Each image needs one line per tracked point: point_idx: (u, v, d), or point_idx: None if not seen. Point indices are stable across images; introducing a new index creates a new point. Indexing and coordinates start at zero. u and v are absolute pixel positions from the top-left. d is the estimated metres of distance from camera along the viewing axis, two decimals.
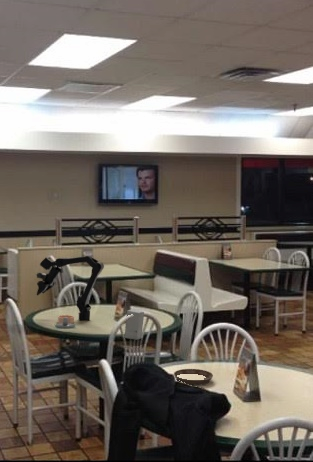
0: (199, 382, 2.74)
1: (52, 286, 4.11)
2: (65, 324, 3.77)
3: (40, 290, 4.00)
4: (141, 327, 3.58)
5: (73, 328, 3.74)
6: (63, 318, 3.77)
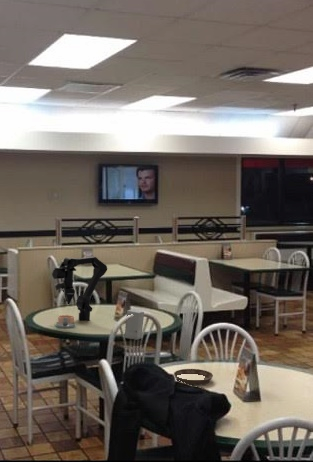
0: (199, 382, 2.74)
1: None
2: (65, 324, 3.77)
3: (69, 297, 3.86)
4: (141, 327, 3.58)
5: (73, 328, 3.74)
6: (63, 318, 3.77)
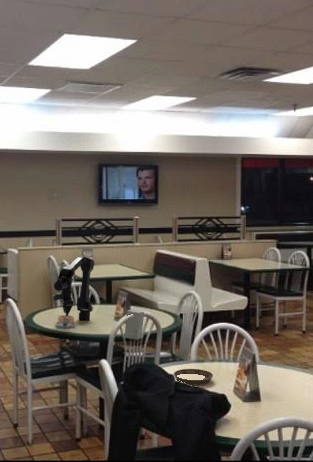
0: (199, 382, 2.74)
1: None
2: (65, 324, 3.77)
3: (68, 309, 3.73)
4: (141, 327, 3.58)
5: (73, 328, 3.74)
6: (63, 318, 3.77)
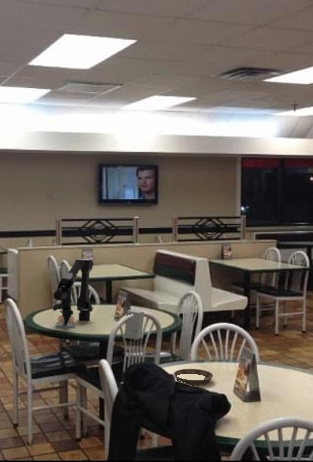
0: (199, 382, 2.74)
1: None
2: None
3: (67, 317, 3.76)
4: (141, 327, 3.58)
5: (73, 328, 3.74)
6: (63, 318, 3.77)
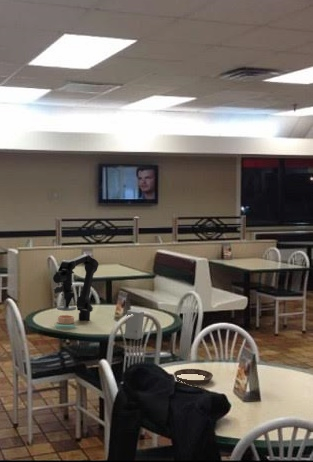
0: (199, 382, 2.74)
1: None
2: (66, 307, 3.82)
3: (68, 300, 3.81)
4: (141, 327, 3.58)
5: (73, 328, 3.74)
6: (64, 301, 3.82)
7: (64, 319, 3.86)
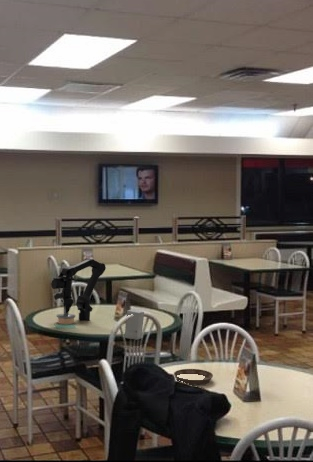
0: (199, 382, 2.74)
1: None
2: (66, 314, 3.89)
3: (68, 307, 3.86)
4: (141, 327, 3.58)
5: (73, 328, 3.74)
6: (64, 308, 3.89)
7: (64, 319, 3.86)
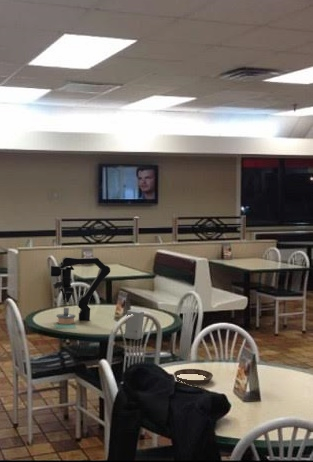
0: (199, 382, 2.74)
1: None
2: (66, 314, 3.89)
3: (68, 296, 3.92)
4: (141, 327, 3.58)
5: (73, 328, 3.74)
6: (64, 308, 3.89)
7: (64, 319, 3.86)
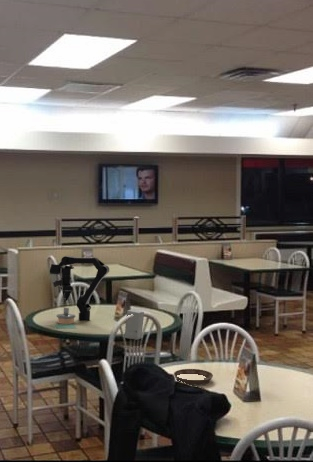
0: (199, 382, 2.74)
1: None
2: (66, 314, 3.89)
3: (67, 294, 3.97)
4: (141, 327, 3.58)
5: (73, 328, 3.74)
6: (64, 308, 3.89)
7: (64, 319, 3.86)
